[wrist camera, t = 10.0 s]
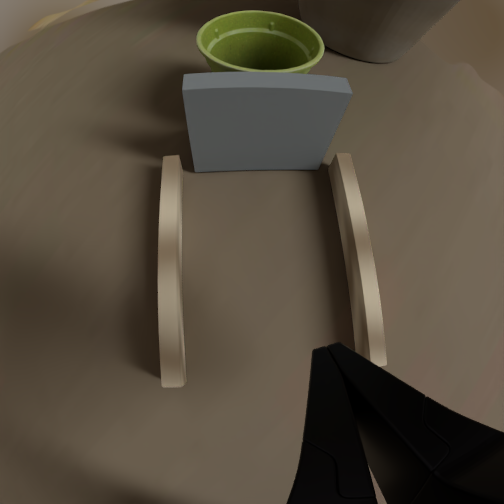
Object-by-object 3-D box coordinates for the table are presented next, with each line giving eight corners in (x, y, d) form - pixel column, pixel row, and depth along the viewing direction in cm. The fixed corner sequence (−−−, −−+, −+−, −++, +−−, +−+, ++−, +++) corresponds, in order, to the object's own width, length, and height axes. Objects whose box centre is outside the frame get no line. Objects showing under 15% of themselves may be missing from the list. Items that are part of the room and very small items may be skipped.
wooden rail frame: (371, 364, 21) (386, 365, 18) (169, 382, 19) (162, 387, 17) (340, 169, 25) (350, 153, 23) (168, 173, 24) (163, 156, 22)
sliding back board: (317, 169, 25) (352, 93, 16) (195, 172, 24) (182, 90, 15) (310, 135, 26) (337, 58, 17) (196, 136, 25) (186, 54, 16)
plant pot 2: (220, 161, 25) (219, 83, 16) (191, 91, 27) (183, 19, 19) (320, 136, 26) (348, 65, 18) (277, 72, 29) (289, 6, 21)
